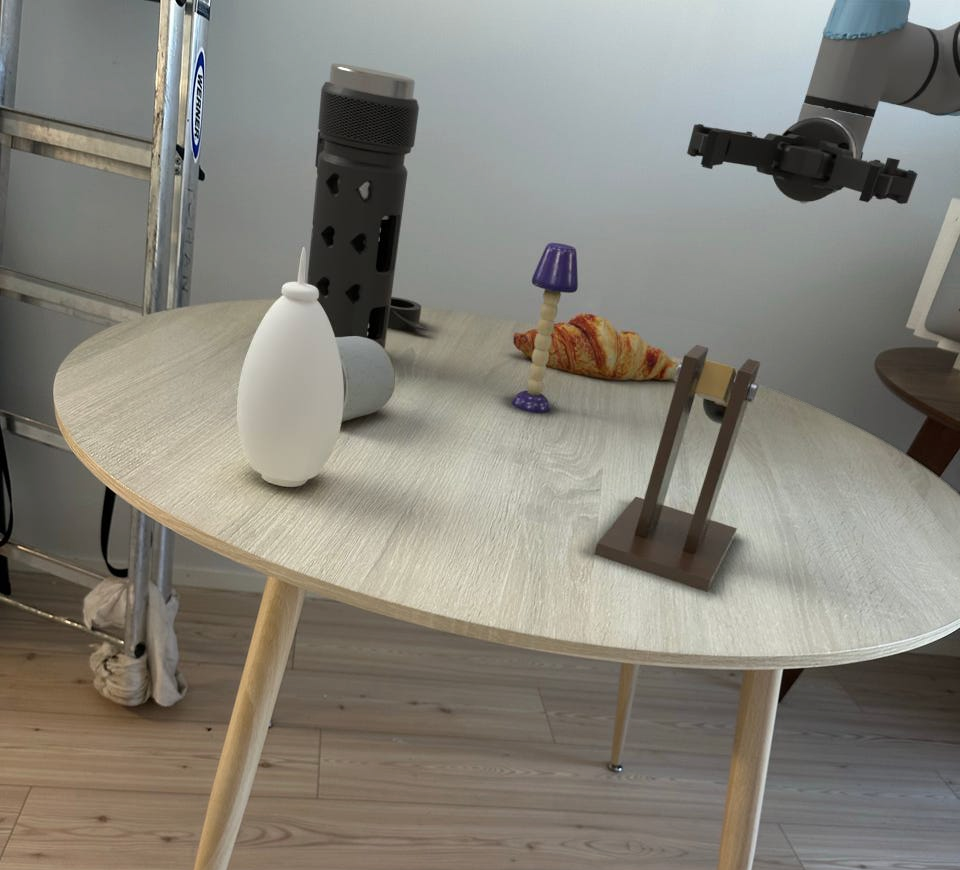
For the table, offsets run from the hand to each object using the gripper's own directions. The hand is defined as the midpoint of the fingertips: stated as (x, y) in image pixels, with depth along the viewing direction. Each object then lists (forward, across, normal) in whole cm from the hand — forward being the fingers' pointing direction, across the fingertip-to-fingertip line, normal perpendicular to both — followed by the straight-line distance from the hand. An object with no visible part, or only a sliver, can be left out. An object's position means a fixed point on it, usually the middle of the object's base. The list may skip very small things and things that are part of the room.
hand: (787, 165), depth 85 cm
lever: (+15, -2, -18) cm, 23 cm away
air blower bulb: (+31, +27, -28) cm, 50 cm away
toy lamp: (-5, +19, -28) cm, 35 cm away
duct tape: (-21, +43, -28) cm, 56 cm away
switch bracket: (+20, -2, -28) cm, 34 cm away
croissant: (-26, +18, -28) cm, 43 cm away
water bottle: (-3, +41, -28) cm, 50 cm away
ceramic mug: (+14, +33, -28) cm, 46 cm away
